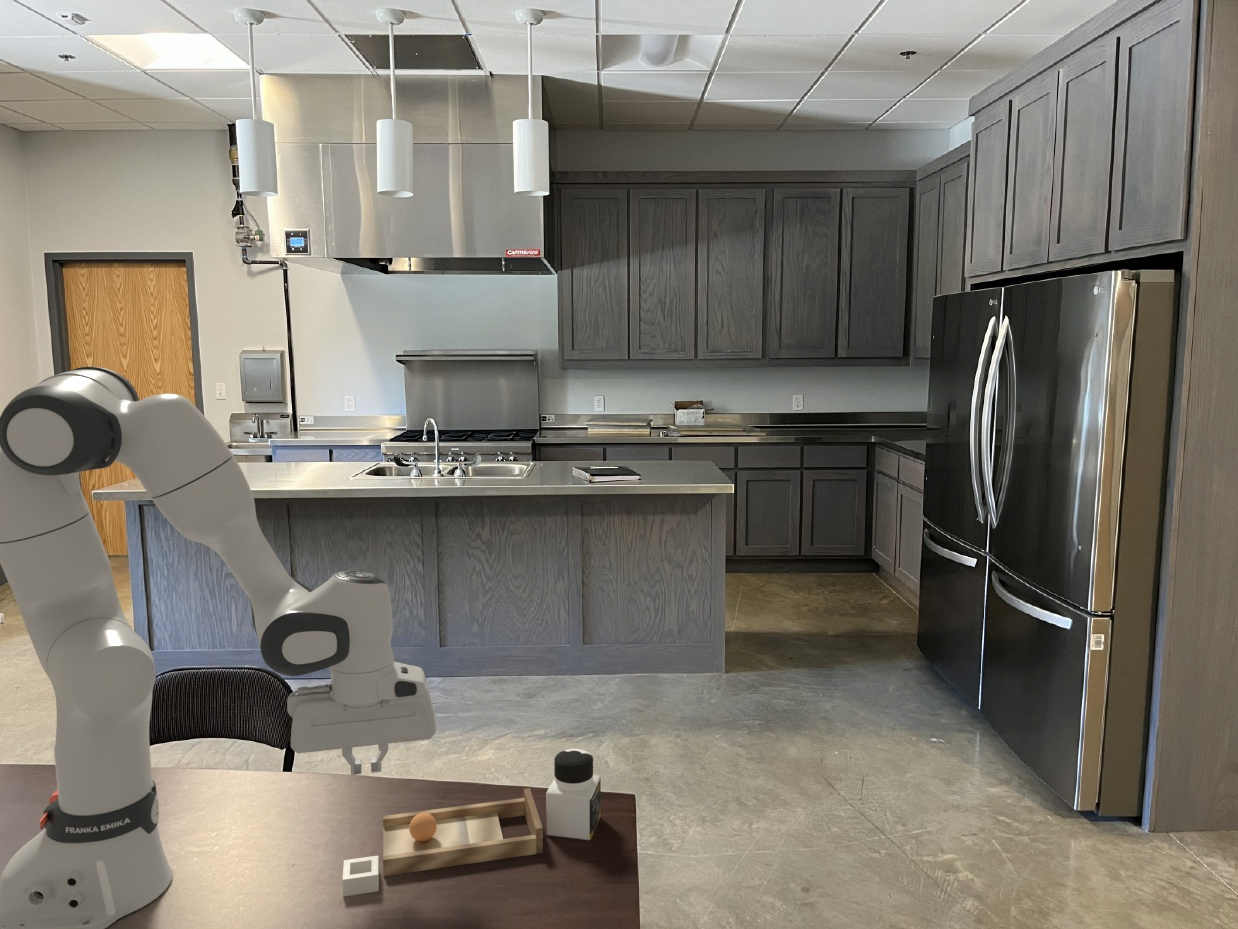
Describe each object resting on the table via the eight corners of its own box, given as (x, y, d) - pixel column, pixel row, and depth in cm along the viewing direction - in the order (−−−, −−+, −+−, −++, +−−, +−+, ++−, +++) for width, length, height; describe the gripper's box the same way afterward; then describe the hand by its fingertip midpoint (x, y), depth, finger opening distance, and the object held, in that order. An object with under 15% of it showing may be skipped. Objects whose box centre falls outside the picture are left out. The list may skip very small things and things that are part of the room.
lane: (383, 876, 124) (382, 850, 124) (383, 831, 136) (382, 807, 135) (542, 853, 130) (542, 828, 130) (530, 811, 142) (529, 788, 141)
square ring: (343, 896, 120) (342, 880, 119) (344, 876, 124) (343, 860, 124) (378, 891, 121) (378, 874, 121) (378, 871, 125) (378, 855, 125)
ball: (405, 843, 129) (416, 818, 129) (404, 828, 133) (415, 804, 132) (430, 850, 130) (441, 826, 130) (429, 835, 134) (440, 811, 134)
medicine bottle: (590, 841, 133) (590, 767, 132) (545, 836, 135) (545, 762, 133) (600, 816, 140) (601, 746, 139) (558, 812, 142) (557, 742, 140)
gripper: (284, 697, 120) (288, 791, 122) (435, 683, 125) (437, 773, 127) (288, 680, 126) (293, 770, 128) (433, 667, 131) (435, 754, 133)
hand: (366, 771), depth 128 cm, fingers closed
